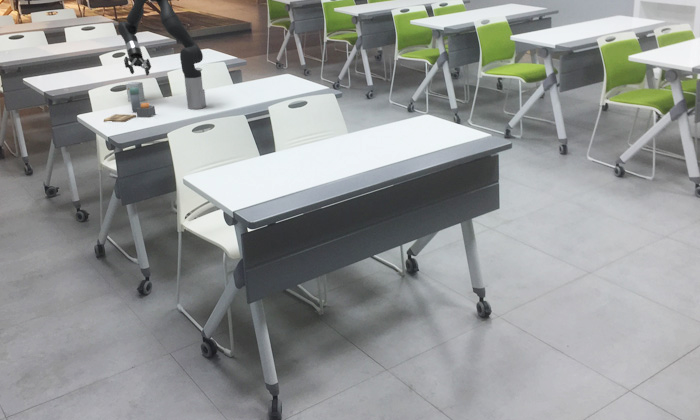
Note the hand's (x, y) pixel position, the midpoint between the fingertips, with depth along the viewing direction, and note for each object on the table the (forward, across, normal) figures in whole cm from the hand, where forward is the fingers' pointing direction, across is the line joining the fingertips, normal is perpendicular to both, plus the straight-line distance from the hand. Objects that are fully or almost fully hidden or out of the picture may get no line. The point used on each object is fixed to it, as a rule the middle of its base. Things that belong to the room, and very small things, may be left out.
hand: (140, 73), depth 407 cm
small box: (-2, +8, +27) cm, 29 cm away
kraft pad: (+30, -17, +3) cm, 34 cm away
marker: (+20, -4, +9) cm, 22 cm away
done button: (+27, -5, -3) cm, 28 cm away
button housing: (+29, -4, -1) cm, 30 cm away
